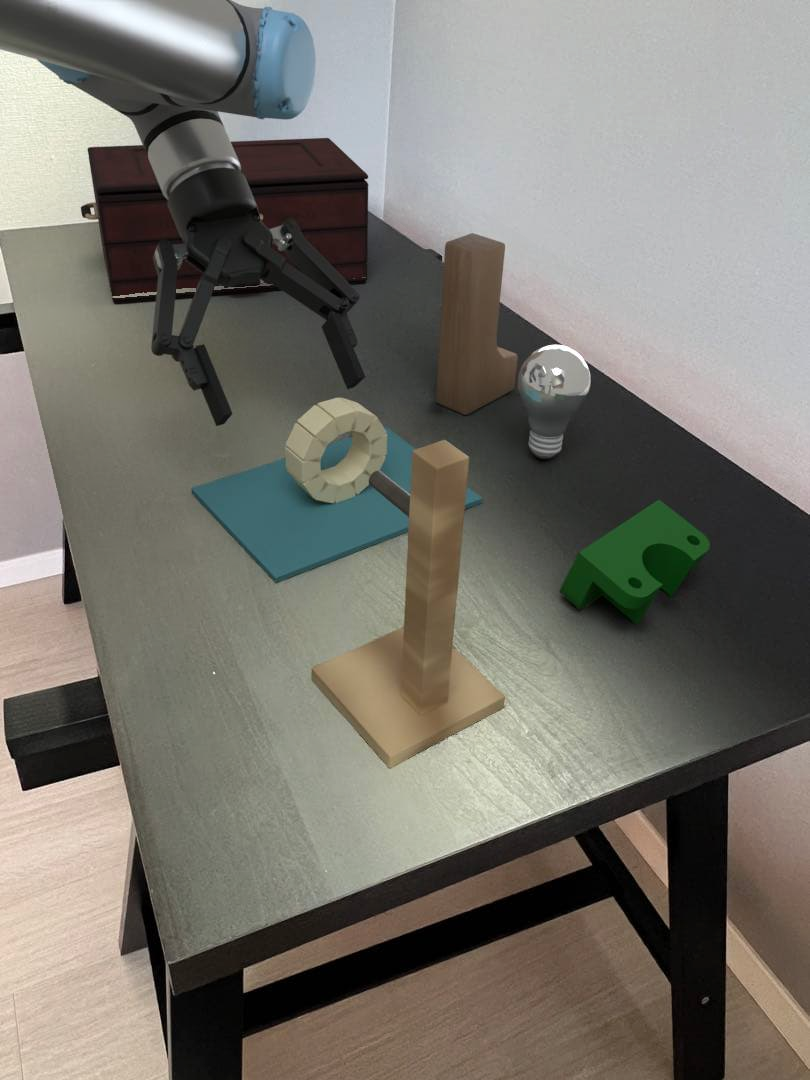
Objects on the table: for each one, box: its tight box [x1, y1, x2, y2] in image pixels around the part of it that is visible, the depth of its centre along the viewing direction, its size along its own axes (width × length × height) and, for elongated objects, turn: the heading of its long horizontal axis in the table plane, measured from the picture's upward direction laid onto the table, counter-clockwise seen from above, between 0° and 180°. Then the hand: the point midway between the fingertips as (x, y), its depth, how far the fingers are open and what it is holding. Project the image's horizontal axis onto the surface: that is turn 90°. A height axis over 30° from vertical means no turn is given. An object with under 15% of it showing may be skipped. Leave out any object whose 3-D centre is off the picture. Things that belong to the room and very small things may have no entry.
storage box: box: [80, 137, 369, 304], centre depth 130 cm, size 39×23×15 cm, turn 108°
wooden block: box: [435, 232, 519, 416], centre depth 101 cm, size 9×4×18 cm, turn 138°
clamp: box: [559, 499, 711, 625], centre depth 77 cm, size 12×6×9 cm, turn 129°
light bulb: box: [517, 344, 592, 461], centre depth 92 cm, size 7×7×12 cm
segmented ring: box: [284, 396, 387, 504], centre depth 85 cm, size 9×3×9 cm, turn 125°
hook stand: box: [311, 439, 506, 769], centre depth 62 cm, size 10×10×21 cm
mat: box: [190, 426, 483, 584], centre depth 88 cm, size 22×16×1 cm
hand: (293, 401), depth 85 cm, fingers open, 13 cm apart
